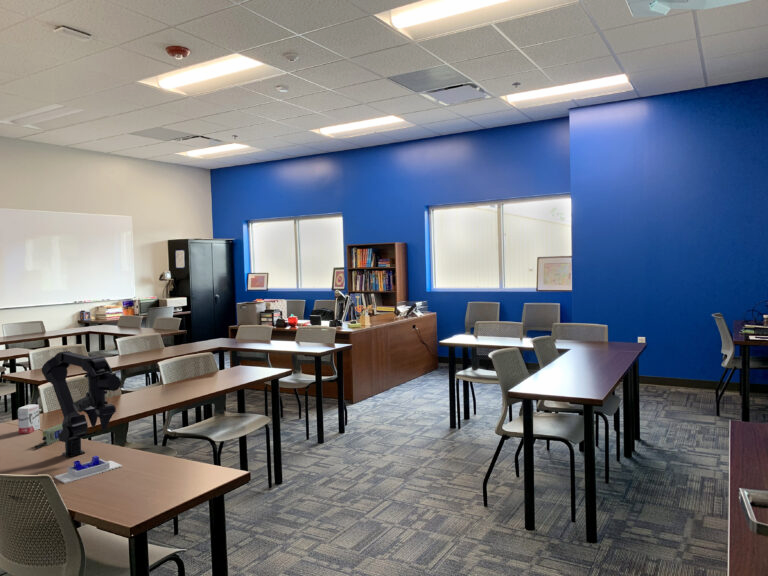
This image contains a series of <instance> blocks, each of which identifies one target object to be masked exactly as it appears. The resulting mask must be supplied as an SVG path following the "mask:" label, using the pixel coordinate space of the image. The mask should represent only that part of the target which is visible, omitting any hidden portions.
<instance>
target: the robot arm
mask: <svg viewBox="0 0 768 576" xmlns="http://www.w3.org/2000/svg"><path fill="white" fill-rule="evenodd" d="M71 365H73V366H76V367H80V368H82V369H81V370H82V371H84V372H85V373H86V374H85V375H84V378H86V379H87V383H88V391H87V392H86V393H85V397H81V398H80V399H78V400H76V401H74V399H73V397H72V394H71V390H70V388H69V385H68V383H67V377H68V373H69V372H68V368H69V367H70V366H71ZM41 373H42V374H43V376H44V379H45V380H46V381H47V382H48V383H50V384H51V385H52V387H53V390H54V393H55V396H56V398H57V401H58V404H59V406H60V407H59V408H60V410H61V412H62V415H63V420H62V427H63V430H62V432H61V433H60V434H59V436H58V437H59V441H58V442H63V443H64V446H65V447H64V450H65V451H64V452H62V453H61V455H63V456H65V457H67V458H72V457H75V456H79V455H83V454H85V453H86V452H85V451H84V450H83V449H82V438H85V437H87V434H88V429H89V424H88V421H87V419H86V416H85V414H86V415H87V417H88V419H89V423H90V425H91V427H93V428H94V427H96V425H97V422H98V418H99V421H100V427H101V432H102V431H106V429H107V427H108V425H109V423H110V421H111V419H112V417H113V415H115V413H116V412H117V410H116V409H117V407H116V406H115V405H114V404H111V403H109V402H108V400H106V395H107V394H108V391H109V392H116V391H117V390H119V389H120V387H121V384H122V380H121V378H120V377H119V376H117V373H116V372H113V369H112V367H111V366H110V364H109V363H108V360H107V359H106V357H105V356H102V355H95V356H93V355H92V356H88V355H84V354H80V353H75V352H72V351H69V350H66V351H60V352H57V353H56V354H55V356H53V357H51V358H50V359H48V360H47V361H46V362H44V364H43V365H42V367H41ZM82 412H83V413H82ZM80 413H81V414H80ZM84 413H85V414H84Z"/></svg>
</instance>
